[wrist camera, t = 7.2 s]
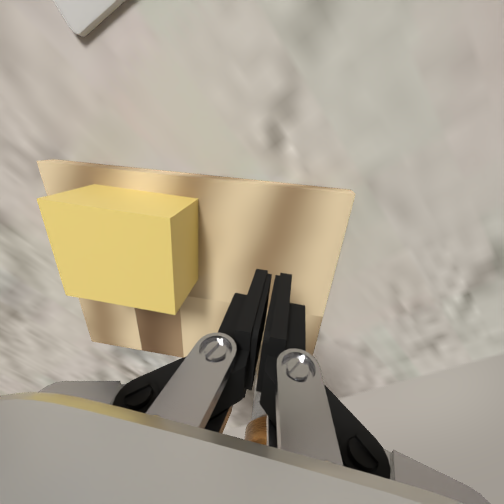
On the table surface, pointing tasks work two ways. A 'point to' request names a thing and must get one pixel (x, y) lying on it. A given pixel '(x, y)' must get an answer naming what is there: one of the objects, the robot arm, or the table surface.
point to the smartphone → (85, 13)
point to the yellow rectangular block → (124, 245)
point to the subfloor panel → (222, 249)
